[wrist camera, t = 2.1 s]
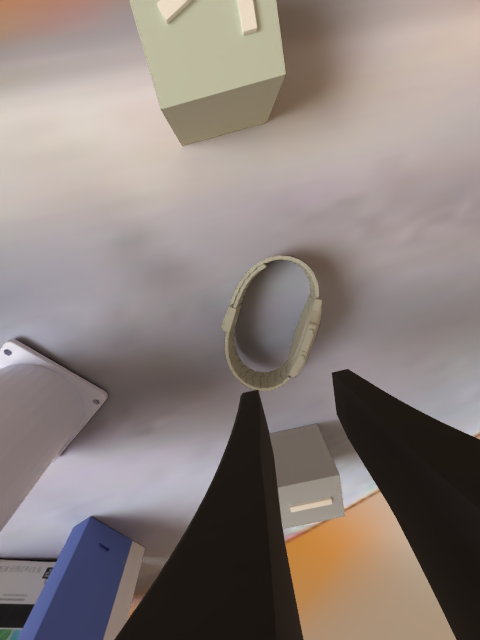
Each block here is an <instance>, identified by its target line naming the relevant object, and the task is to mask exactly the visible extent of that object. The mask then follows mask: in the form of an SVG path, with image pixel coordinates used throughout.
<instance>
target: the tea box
mask: <svg viewBox="0 0 480 640" xmlns="http://www.w3.org/2000/svg"><path fill="white" fill-rule="evenodd" d="M55 563H56V562H40V561H20V560H2V559H0V640H17V639H18V637H19V635H20V633H21V631H22V629H23V627H24V625H25V623H26V621H27V619H28V617H29V615H30V613H31V611H32V609H33V607H34V605H35V603H36V601H37V599H38V597H39V595H40V593H41V591H42V589H43V587H44V585H45V583H46V581H47V579H48V577H49V575H50V573H51V571H52V569H53V567H54V565H55Z"/></svg>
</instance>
